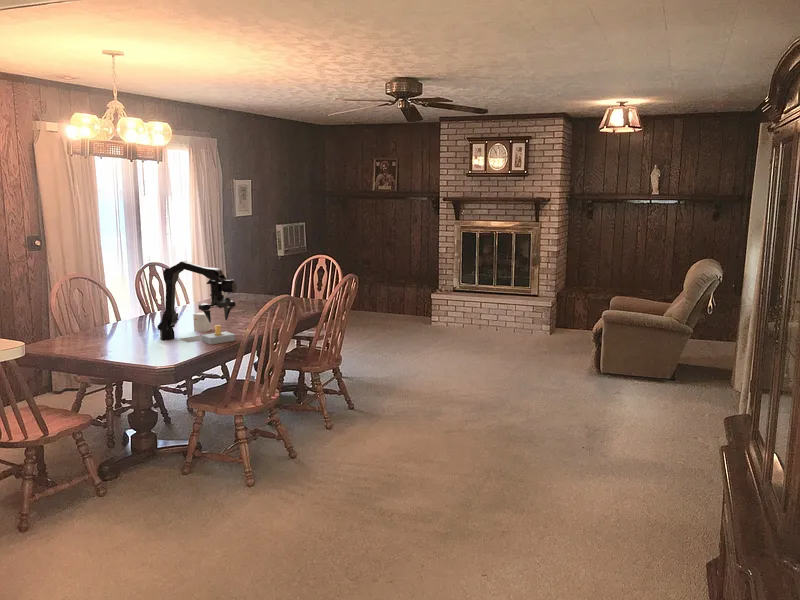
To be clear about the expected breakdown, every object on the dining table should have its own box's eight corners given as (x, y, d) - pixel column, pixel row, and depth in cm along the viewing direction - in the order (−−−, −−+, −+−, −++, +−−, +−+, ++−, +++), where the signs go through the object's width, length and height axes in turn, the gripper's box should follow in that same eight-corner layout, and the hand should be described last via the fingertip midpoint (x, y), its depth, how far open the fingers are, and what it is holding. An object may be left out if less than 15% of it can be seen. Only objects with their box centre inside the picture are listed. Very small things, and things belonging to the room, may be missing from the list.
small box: (211, 330, 383) (210, 312, 382) (206, 332, 378) (205, 314, 376) (199, 330, 385) (198, 312, 384) (193, 332, 380) (193, 313, 378)
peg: (217, 342, 353) (216, 326, 352) (214, 341, 355) (214, 325, 354) (222, 341, 355) (221, 325, 354) (220, 341, 357) (219, 324, 356)
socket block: (210, 345, 347) (210, 338, 346) (202, 342, 354) (201, 334, 354) (235, 341, 356) (234, 334, 355) (226, 338, 363) (226, 331, 363)
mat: (188, 343, 352) (188, 342, 351) (179, 339, 360) (179, 338, 360) (212, 339, 360) (212, 338, 360) (203, 336, 369) (203, 334, 369)
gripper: (206, 296, 339) (208, 325, 341) (239, 292, 351) (241, 321, 353) (197, 293, 347) (199, 322, 350) (230, 289, 359) (231, 318, 362)
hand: (218, 321), depth 353 cm, fingers open, 9 cm apart
